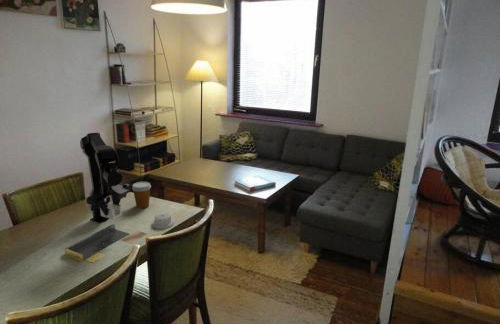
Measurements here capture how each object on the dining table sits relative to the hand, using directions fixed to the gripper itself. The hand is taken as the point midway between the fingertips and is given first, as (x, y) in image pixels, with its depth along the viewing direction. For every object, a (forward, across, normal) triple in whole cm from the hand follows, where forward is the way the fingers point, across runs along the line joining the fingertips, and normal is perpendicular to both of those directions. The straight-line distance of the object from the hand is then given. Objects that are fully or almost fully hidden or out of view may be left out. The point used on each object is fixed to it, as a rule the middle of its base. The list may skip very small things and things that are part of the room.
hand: (111, 213), depth 150 cm
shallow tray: (+11, -7, +1) cm, 13 cm away
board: (+11, +4, -8) cm, 14 cm away
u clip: (+1, 0, 0) cm, 1 cm away
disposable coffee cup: (+12, +31, +12) cm, 36 cm away
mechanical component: (+12, +20, -10) cm, 26 cm away
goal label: (+11, -15, -7) cm, 20 cm away
